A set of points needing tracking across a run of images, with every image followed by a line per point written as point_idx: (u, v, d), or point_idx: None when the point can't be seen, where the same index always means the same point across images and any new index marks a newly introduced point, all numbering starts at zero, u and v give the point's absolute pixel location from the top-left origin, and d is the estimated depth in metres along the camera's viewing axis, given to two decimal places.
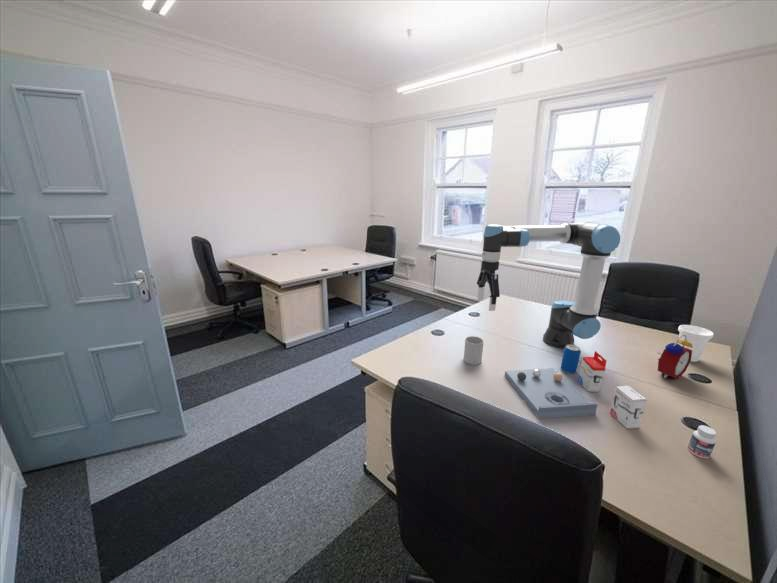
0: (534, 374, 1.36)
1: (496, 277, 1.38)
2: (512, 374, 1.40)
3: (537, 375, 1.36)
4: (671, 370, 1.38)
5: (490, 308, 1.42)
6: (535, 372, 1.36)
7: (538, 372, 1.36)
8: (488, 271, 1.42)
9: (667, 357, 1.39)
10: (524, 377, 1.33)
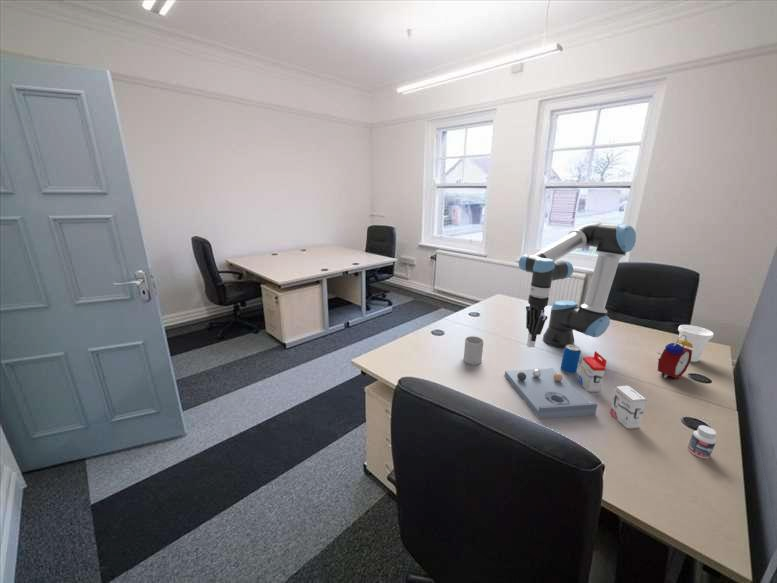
0: (534, 374, 1.36)
1: (544, 319, 1.31)
2: (512, 374, 1.40)
3: (537, 375, 1.36)
4: (671, 370, 1.38)
5: (529, 345, 1.40)
6: (535, 372, 1.36)
7: (538, 372, 1.36)
8: (538, 306, 1.32)
9: (667, 357, 1.39)
10: (524, 377, 1.33)
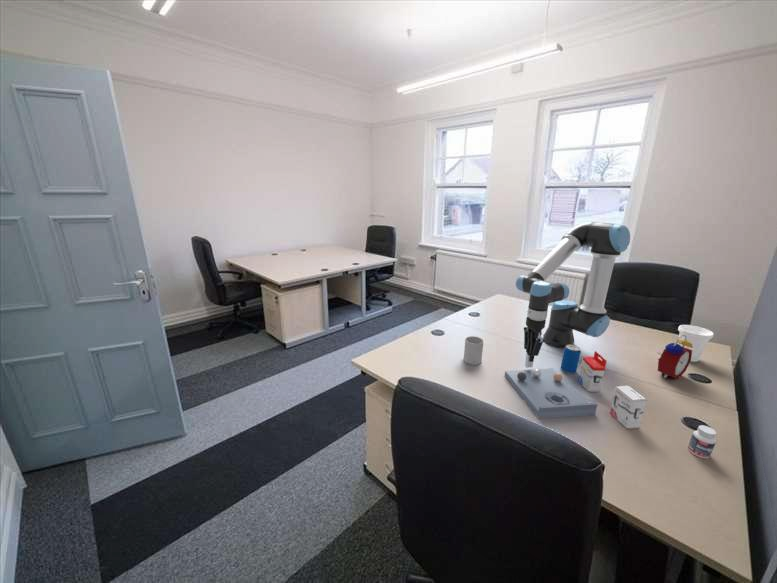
0: (534, 374, 1.36)
1: (541, 341, 1.33)
2: (512, 374, 1.40)
3: (537, 375, 1.36)
4: (671, 370, 1.38)
5: (527, 365, 1.42)
6: (535, 372, 1.36)
7: (538, 372, 1.36)
8: (535, 329, 1.35)
9: (667, 357, 1.39)
10: (524, 377, 1.33)
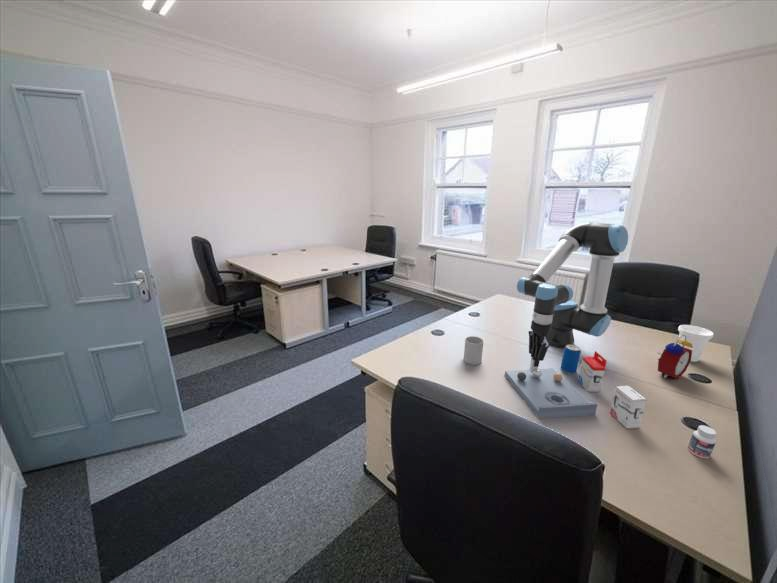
0: (534, 375, 1.36)
1: (547, 346, 1.29)
2: (512, 374, 1.40)
3: (537, 376, 1.35)
4: (671, 370, 1.38)
5: (532, 370, 1.38)
6: (535, 373, 1.36)
7: (538, 373, 1.35)
8: (541, 333, 1.31)
9: (667, 357, 1.39)
10: (524, 377, 1.33)
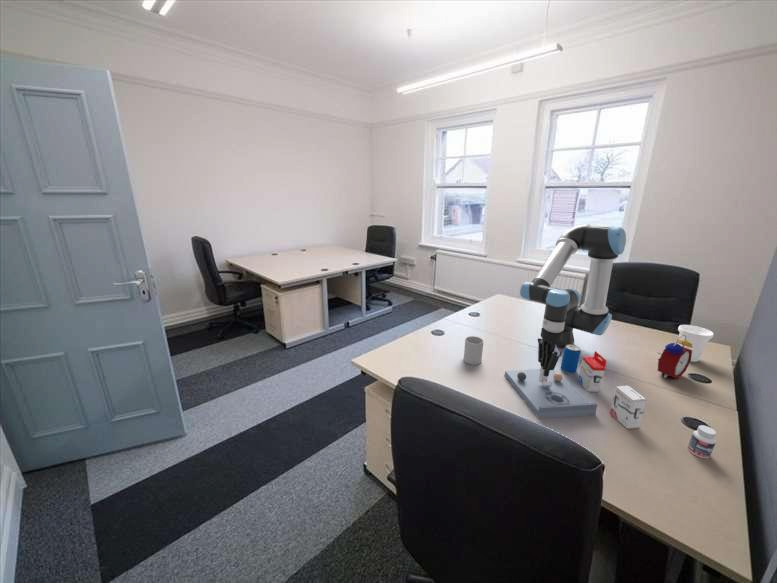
0: (542, 382, 1.30)
1: (558, 355, 1.22)
2: (512, 374, 1.40)
3: (544, 380, 1.31)
4: (671, 370, 1.38)
5: (542, 380, 1.31)
6: None
7: None
8: (551, 341, 1.24)
9: (667, 357, 1.39)
10: (524, 377, 1.33)
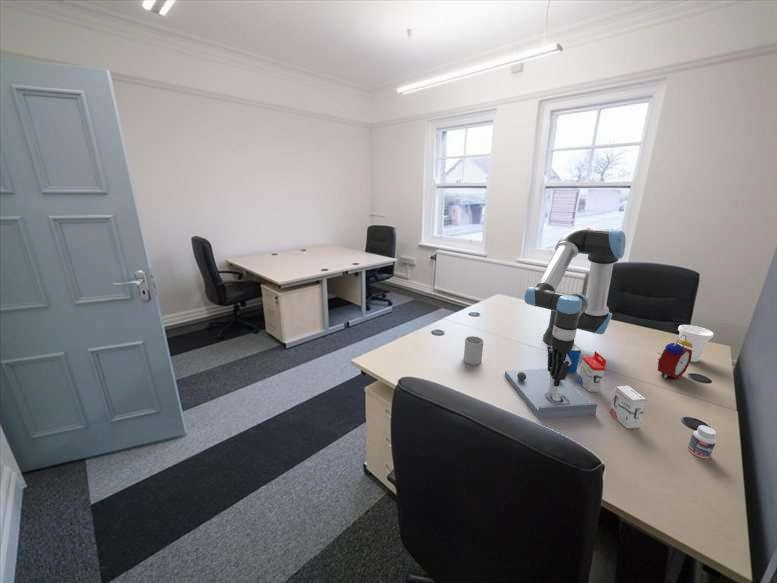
0: None
1: (570, 365, 1.16)
2: (512, 374, 1.40)
3: None
4: (671, 370, 1.38)
5: (552, 390, 1.25)
6: None
7: None
8: (562, 349, 1.17)
9: (667, 357, 1.39)
10: (524, 377, 1.33)
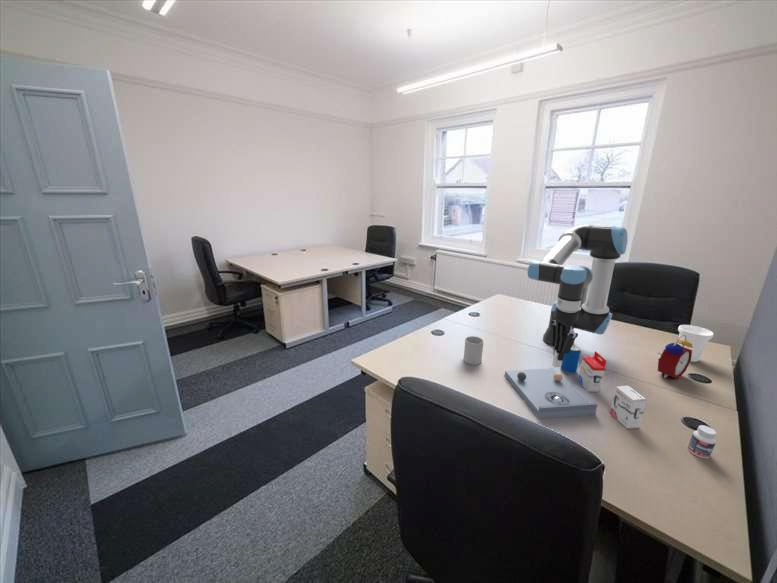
0: None
1: (574, 337, 1.13)
2: (512, 374, 1.40)
3: None
4: (671, 370, 1.38)
5: (556, 364, 1.23)
6: None
7: None
8: (566, 322, 1.15)
9: (667, 357, 1.39)
10: (524, 377, 1.33)
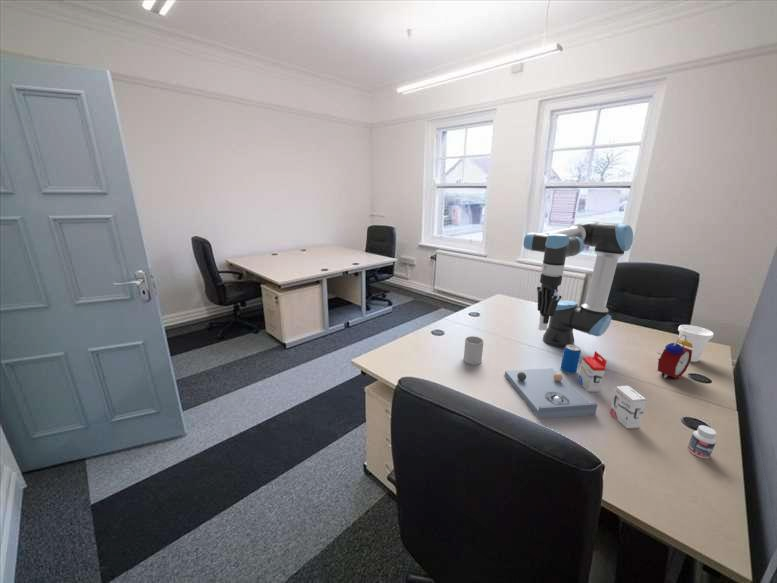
0: None
1: (558, 299, 1.22)
2: (512, 374, 1.40)
3: None
4: (671, 370, 1.38)
5: (541, 327, 1.31)
6: None
7: None
8: (551, 285, 1.23)
9: (667, 357, 1.39)
10: (524, 377, 1.33)
